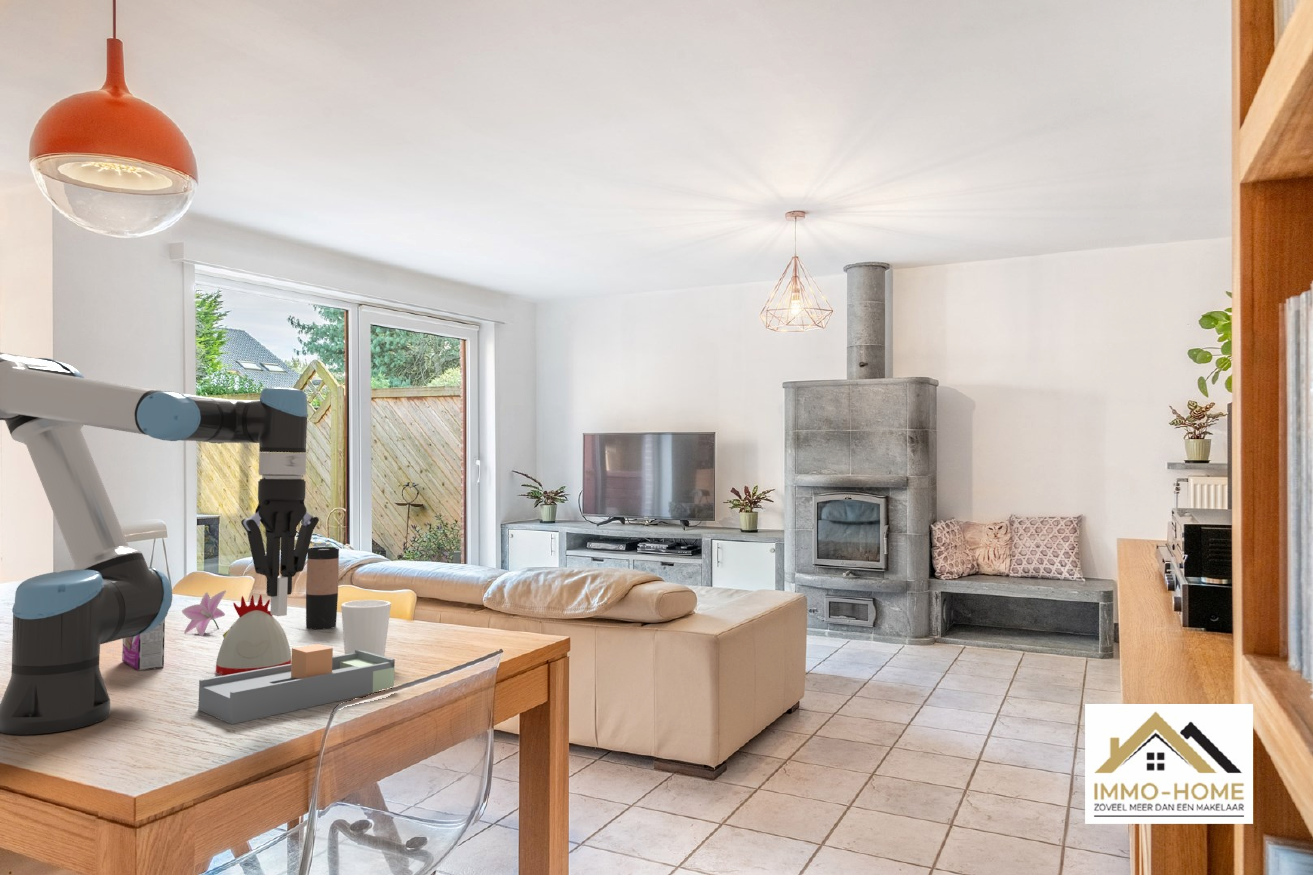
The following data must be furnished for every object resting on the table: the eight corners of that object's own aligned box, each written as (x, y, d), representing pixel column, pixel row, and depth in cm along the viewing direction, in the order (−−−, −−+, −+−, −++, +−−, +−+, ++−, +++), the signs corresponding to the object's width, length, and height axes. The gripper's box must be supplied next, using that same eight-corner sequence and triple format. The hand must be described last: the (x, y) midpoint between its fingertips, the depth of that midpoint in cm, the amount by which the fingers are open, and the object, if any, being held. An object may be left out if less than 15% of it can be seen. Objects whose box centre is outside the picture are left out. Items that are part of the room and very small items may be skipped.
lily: (181, 632, 214) (168, 602, 210) (229, 610, 221) (218, 580, 217) (196, 655, 206) (183, 624, 202) (245, 631, 213) (234, 600, 209)
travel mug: (298, 628, 216) (301, 549, 217) (315, 623, 224) (317, 546, 224) (326, 630, 215) (329, 550, 216) (342, 624, 223) (345, 547, 223)
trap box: (231, 724, 138) (232, 689, 138) (198, 709, 146) (199, 676, 146) (393, 688, 161) (394, 659, 161) (357, 677, 169) (358, 649, 169)
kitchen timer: (219, 663, 179) (222, 591, 179) (291, 659, 184) (293, 588, 185) (212, 679, 166) (215, 601, 167) (290, 674, 171) (292, 598, 172)
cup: (330, 664, 180) (332, 602, 180) (374, 656, 187) (375, 598, 187) (354, 672, 173) (356, 608, 173) (398, 664, 180) (399, 603, 181)
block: (305, 681, 150) (306, 652, 150) (291, 676, 153) (291, 648, 153) (331, 676, 154) (332, 647, 154) (317, 671, 157) (318, 643, 157)
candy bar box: (119, 662, 178) (122, 582, 179) (146, 658, 182) (149, 580, 182) (137, 671, 171) (140, 588, 171) (164, 667, 174) (167, 586, 175)
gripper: (255, 478, 141) (251, 622, 141) (328, 477, 151) (325, 612, 151) (234, 477, 146) (230, 617, 145) (306, 477, 156) (303, 607, 155)
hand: (278, 614), depth 148 cm, fingers closed
